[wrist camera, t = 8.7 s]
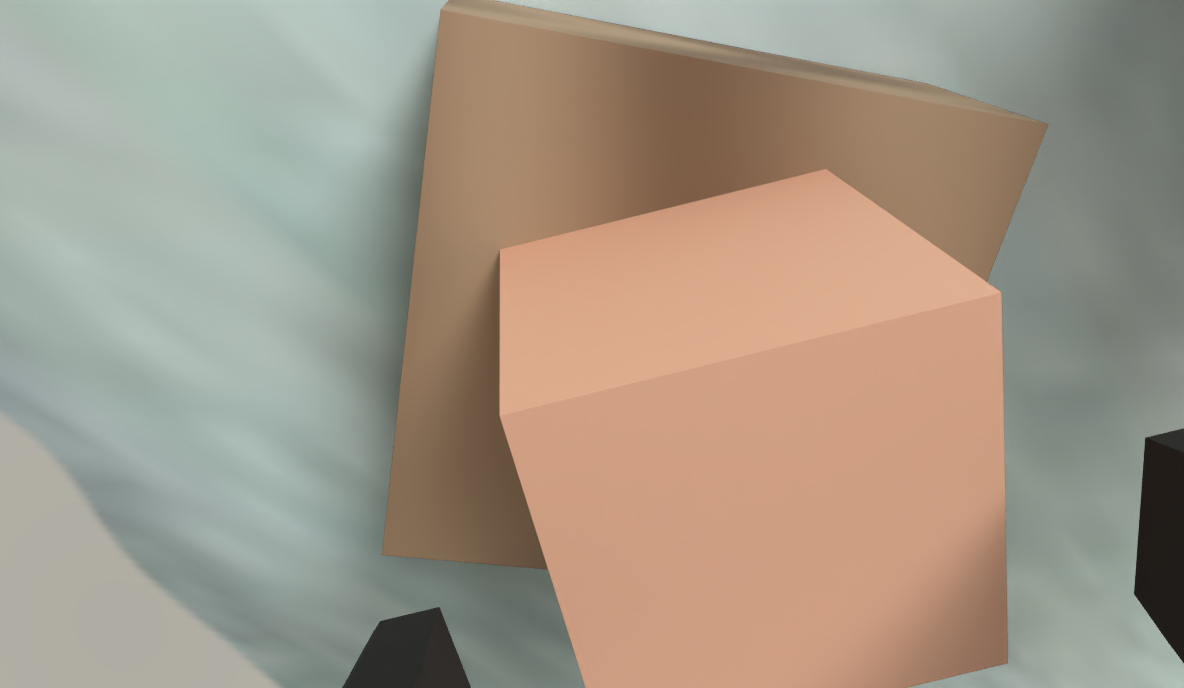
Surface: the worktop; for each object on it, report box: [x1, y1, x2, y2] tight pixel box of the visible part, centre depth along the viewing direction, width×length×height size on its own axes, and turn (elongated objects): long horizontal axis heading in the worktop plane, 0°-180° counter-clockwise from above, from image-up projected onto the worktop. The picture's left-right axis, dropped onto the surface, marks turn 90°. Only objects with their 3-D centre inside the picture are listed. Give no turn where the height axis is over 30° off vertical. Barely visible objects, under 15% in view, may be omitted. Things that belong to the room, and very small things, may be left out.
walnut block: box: [382, 0, 1048, 569], centre depth 16 cm, size 9×9×4 cm
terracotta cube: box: [500, 169, 1008, 688], centre depth 12 cm, size 5×5×5 cm
